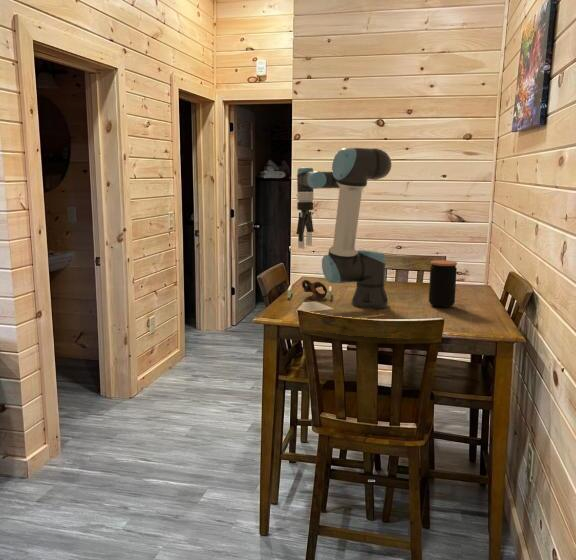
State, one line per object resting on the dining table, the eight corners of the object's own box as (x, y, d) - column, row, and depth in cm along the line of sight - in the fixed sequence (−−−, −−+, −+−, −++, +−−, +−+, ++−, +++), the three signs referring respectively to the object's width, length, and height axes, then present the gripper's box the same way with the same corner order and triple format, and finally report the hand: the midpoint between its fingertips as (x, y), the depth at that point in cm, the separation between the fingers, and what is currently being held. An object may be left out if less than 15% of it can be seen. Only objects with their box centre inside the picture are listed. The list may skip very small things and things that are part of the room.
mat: (334, 309, 222) (334, 308, 222) (298, 313, 215) (298, 312, 215) (315, 301, 236) (315, 301, 236) (281, 304, 229) (281, 304, 229)
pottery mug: (321, 297, 249) (331, 287, 243) (314, 310, 241) (325, 300, 236) (300, 282, 247) (309, 271, 242) (293, 294, 240) (303, 283, 235)
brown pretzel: (289, 293, 252) (289, 285, 251) (331, 294, 250) (331, 285, 249) (287, 299, 240) (287, 290, 239) (331, 300, 238) (331, 291, 238)
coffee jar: (459, 306, 227) (461, 263, 224) (435, 307, 225) (437, 264, 222) (447, 301, 237) (450, 259, 234) (424, 301, 235) (426, 260, 232)
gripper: (304, 201, 267) (304, 244, 271) (289, 202, 244) (289, 249, 247) (319, 201, 265) (319, 244, 269) (305, 202, 242) (305, 249, 245)
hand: (305, 247), depth 258 cm, fingers open, 13 cm apart
